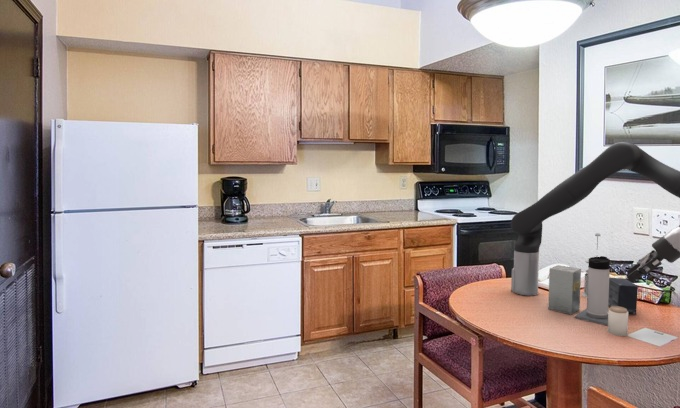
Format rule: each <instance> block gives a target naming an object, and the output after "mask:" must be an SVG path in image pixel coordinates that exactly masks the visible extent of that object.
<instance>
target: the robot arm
mask: <svg viewBox="0 0 680 408" xmlns="http://www.w3.org/2000/svg"><path fill="white" fill-rule="evenodd" d="M619 171H629V172H631V173H632V172H633V173H636V174H638V175H641V176H643V177H645V178H646V179H647V178H648V179H649V180H651V181H652V182H654V183H655V184H656V185H658V186H659V187H661V188H662V189H663V190H665V191H666V192H668V193H669V194H671V195H673V196H675V197H677V198H678V199H680V170H678V169H676V168H674V167H671V166H669V165H668V164H665V163H663V162H661V161H660V160H658V159H657V158H655V157H653V156H652V155H650V154H649V153H647V152H646V151H645V150H643V149H642V148H640V147H639V146H638V145H637V144H635V143H632V142H625V141H619V142H616V143H612V144H611V145H609V146H608V147H607V148H606V149H605V150H603V151H602V152H601V153H600V154H599V155H597V156H596V158H595V159H593V160H592V161H591V162H590V163H589V164H588V165H586V166H584V167H583V168H581V169H579V170H578V171H576V172H575V173H573V174H572V175H570V176H568V177H567V178H566V179H564V180H563V181H561V182H560V183H559V184H557V185H556V186H555V187H554V188H553V189H551V190H550V191H548V192H547V193H546V194H544V195H543V196H542V197H541V198H540V199H538V200H537V201H536V202H534V203H533V204H531V205H530V206H528V207H526V208H524V209H523V210H521V211H519V212H517V213H515V214H514V215H513V216H512V219H511V221H510V227H511V230H512V231H513V232H514V233H516V234H517V235H518V239H517V240H516V242H515V243H514V246H513V247H514V249H513V250H514V251H513V268H512V267H511V280H510V281H511V286H510V289H511V292H512V293H515V294H517V295H521V296H527V297H528V296H529V297H530V296H536V295H537V296H538V295H539V270H540V269H539V267H540V266H539V265H540V263H539V261H540V247H541V245H542V238H543V236H542V235H543V222H544V221H546V220H548V219H549V218H551V217H553V216H555V215H558V214H560V213H562V212H564V211H566V210H568V209H570V208H572V207H574V206H576V205H577V204H578V203H580V202H581V201H583V200H585V199H586V198H587V197H588V196H589V195H590V194H592V192H593V191H594V190H595V189H596V187H597V186H598V185H599V184H600V183H601V182H603V181H604V180H606V179H607V178H609V177H611V176H613V175H614V174H617V173H618V172H619ZM651 247H652V248H653V250H651V251H650V252H648V253H647V254H646V255H644V256H643V257H641V258H640V259H638V261H636V264H634V265H633V266H632V267H630V268H629V269H627V274H628V275H627V276H626V279H627V280H629V281H630V282H632V283H634V282H635V281H636V280H638V279H639V278H641V277H642V276H647V275H649V274H651V272H652V271H654V270H655V269H656V268H658V267H659V266H661V265H662V264H663V263H662V261H663V260H666V261H667V262H668V263H670V264H673V263H674V262H676V261H677V260H679V259H680V224H679V225H678V226H676V227H675V228H673V229H671V230H670V231H668V232H667V233H665V234H664V235H662V236H661V237H660V238H658V239H657V240H656V241H654V242H652V243H651Z"/></svg>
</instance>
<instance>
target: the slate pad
mask: <svg viewBox="0 0 680 408" xmlns="http://www.w3.org/2000/svg"><path fill="white" fill-rule="evenodd" d="M586 312H587V308H585V309H583V310H582V311H580V312H579V313H577V314H575V315H574V319H578V320H582V321H587V322H590V323H595V324H597V325H603V326H607V327H608V317H607V318H605V319H598V318H592V317H590V316H588V315H587V314H586Z"/></svg>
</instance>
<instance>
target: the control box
mask: <svg viewBox="0 0 680 408" xmlns="http://www.w3.org/2000/svg"><path fill="white" fill-rule="evenodd" d="M548 271H549V275H548V276H549V277H548V279H549V280H548V309H547V310H550V311H555V312H559V313H563V314H565V315H566V314H567V315H573V314H575V313H577V312H579V311H580V310H581V308H580V307H581V305H580V303H581V286H582V285H581V283H582V279H581V278H582V268H578V267H571V266H565V265H560V264H556V265H555V266H552V267H550V268H549V270H548Z"/></svg>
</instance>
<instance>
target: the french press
mask: <svg viewBox="0 0 680 408" xmlns="http://www.w3.org/2000/svg"><path fill="white" fill-rule="evenodd" d="M594 236H595V237H596V238H597V239H596V249H598V247H599V246H598V245H599V237H601V233H600V232H596V233H595V234H594ZM589 258H590V257H589ZM589 258H586V259H585V260H584V261H585V263H586V264H589ZM585 272H586V273H584V285H583V287H584V288H583V289H584V290H583V292H581V293H580V296H583V297H584V298H587V286H588V269H586V270H585Z"/></svg>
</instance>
